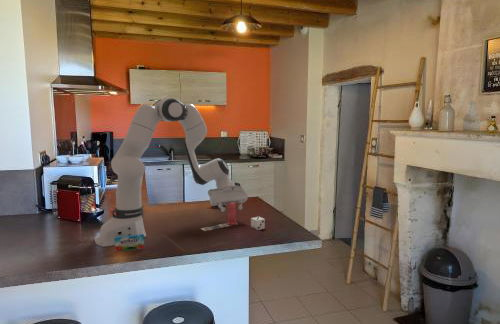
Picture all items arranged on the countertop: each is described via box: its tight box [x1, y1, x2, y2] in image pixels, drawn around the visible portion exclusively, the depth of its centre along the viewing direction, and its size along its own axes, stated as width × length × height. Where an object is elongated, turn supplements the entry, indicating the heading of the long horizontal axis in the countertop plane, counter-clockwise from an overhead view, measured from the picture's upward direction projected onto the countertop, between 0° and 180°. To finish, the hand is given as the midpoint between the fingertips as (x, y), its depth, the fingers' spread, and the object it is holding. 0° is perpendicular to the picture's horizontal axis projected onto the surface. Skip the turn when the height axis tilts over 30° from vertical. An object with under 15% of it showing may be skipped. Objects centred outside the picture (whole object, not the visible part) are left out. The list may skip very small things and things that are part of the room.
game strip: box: [200, 222, 238, 232], centre depth 179 cm, size 22×12×1 cm, turn 125°
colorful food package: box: [114, 234, 146, 253], centre depth 150 cm, size 12×2×6 cm, turn 108°
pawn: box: [226, 202, 237, 226], centre depth 183 cm, size 5×5×11 cm
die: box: [250, 216, 266, 231], centre depth 179 cm, size 5×5×5 cm
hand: (232, 210), depth 182 cm, fingers open, 8 cm apart
